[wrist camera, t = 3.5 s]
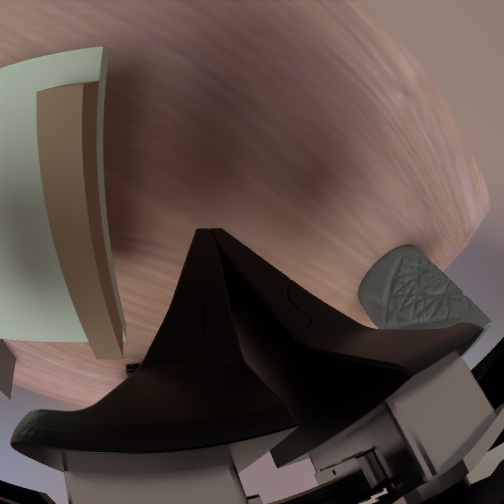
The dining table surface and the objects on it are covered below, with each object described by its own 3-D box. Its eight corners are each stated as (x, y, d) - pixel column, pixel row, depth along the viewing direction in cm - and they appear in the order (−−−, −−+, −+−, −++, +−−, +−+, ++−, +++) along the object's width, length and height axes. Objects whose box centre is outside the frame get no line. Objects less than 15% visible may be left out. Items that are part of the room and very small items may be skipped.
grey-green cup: (403, 224, 22) (492, 318, 13) (432, 256, 28) (493, 326, 19) (334, 302, 26) (397, 403, 17) (378, 314, 32) (427, 388, 23)
